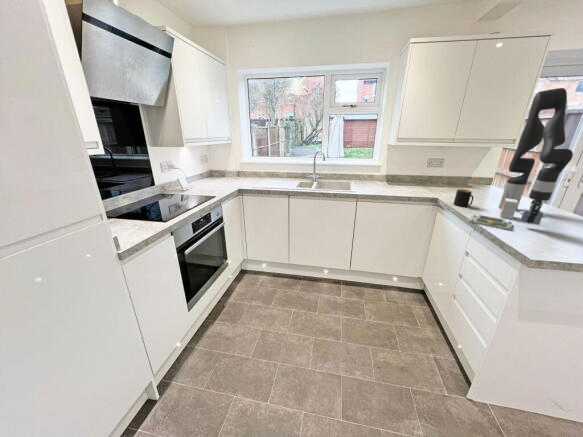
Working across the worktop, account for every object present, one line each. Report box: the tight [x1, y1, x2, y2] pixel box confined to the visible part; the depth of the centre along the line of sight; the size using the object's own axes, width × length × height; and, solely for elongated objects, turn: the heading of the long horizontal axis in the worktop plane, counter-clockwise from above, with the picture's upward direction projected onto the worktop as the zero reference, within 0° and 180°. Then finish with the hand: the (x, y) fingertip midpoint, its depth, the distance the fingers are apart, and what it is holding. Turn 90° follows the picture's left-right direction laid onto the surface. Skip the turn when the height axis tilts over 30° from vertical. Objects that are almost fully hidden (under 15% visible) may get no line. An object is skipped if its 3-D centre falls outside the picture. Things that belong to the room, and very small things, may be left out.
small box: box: [499, 198, 519, 220], centre depth 139 cm, size 8×6×10 cm
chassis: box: [468, 214, 513, 231], centre depth 130 cm, size 12×18×3 cm, turn 47°
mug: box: [453, 189, 474, 208], centre depth 159 cm, size 8×12×10 cm
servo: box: [519, 209, 547, 226], centre depth 121 cm, size 4×10×7 cm, turn 47°
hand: (529, 221), depth 122 cm, fingers closed on servo, 4 cm apart
